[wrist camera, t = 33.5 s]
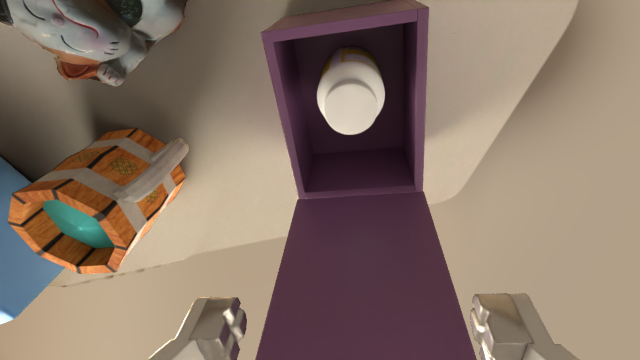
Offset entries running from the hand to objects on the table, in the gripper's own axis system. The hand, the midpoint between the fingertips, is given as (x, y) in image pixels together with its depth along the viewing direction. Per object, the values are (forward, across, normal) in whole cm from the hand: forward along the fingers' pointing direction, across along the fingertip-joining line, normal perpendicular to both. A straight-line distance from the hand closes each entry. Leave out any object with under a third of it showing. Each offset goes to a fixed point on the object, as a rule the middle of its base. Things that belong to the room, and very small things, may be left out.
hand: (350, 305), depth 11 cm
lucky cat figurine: (+32, +24, -12) cm, 41 cm away
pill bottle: (+31, +1, 0) cm, 31 cm away
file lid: (+12, +1, +11) cm, 16 cm away
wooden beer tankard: (+32, +31, +9) cm, 45 cm away
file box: (+32, +1, +2) cm, 32 cm away
